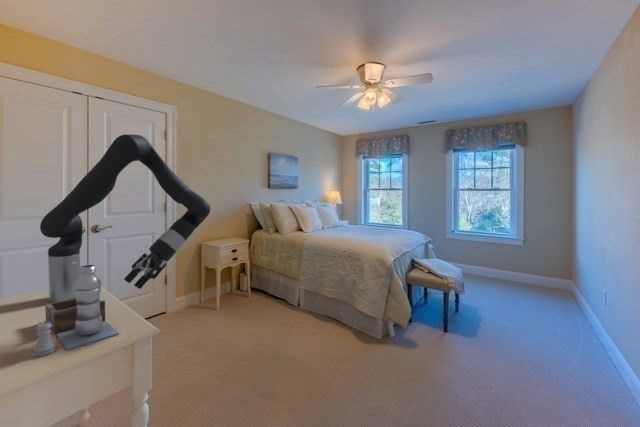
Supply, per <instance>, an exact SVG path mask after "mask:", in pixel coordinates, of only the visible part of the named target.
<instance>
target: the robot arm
mask: <svg viewBox="0 0 640 427" xmlns="http://www.w3.org/2000/svg"><path fill="white" fill-rule="evenodd" d="M137 161H138V162H140V163H141V164H142V165H144V166H145V167H147V169H148V170H150V172H151V173H152V174H153V176H154V177H155V179H156V181H157V183H158V185H159V187H161V189H162V190H163V191H164V192H165V193H166V194H167V195H168V196H169V197H170V198H171V199H172V200H173V201H174V202H175V203H177V204H179V205H180V204H181V205H183V206H184V208H186V209H187V210H186V212H185V213H184V214H183V215H182V216H181V217H180V218H178V219H177V220H175V221H174V223H172V225H171V226H170V227H169V228H168V229H167V230H165V231H164V232H163V233H162V234H161V235H160V236H159V237H158V238H157V239H156V240H155V242H154V243H152V244H151V245H150V246H149V248H148V249H149V251H150V253H149V254H147V253H145V252H144V253H143V254H141V255H140V257H139V258H138V259H137V260H136V261H135V262H134V263H133V264H132V265H131V271H130V272H129V273H128V274H127V275H126V276H125V277H124V278H123V280H124V281H126V282H127V283H128V284H131V283H132V282H133V280H134V279H135V278H136V277H137V276H139V274H140V273H141V272H144V273H143V275H141V277H140V278H139V279H138V280H136V282H135V283H134V287H136V288H137V289H139V290H140V289H142V288H143V287H144V286H145V284H146V283H147V282H148V281H149V280H152V279H153V280H155V279H156V278H157V277H158V276H159V275H160V273H161V272H162V271H163V270H164V268H166V266H167V265H168V264H167V262H169V261H170V260H171V258H172V257H173V256H174V255H175V254H176V253H177V252H178V250H180V249H181V248H182V246H183V245H184V243H186V242H187V240H188V238H190V236H191V235H192V234H193V233H194V231H195V230H196V229H197V228H199V226H200V225H201V224H202V223H203V222H204V221H205V220H206V219H207V217H208V216H209V215H210V213H211V206H210V204H209V203H208V201H207V200H206V199H205V198H204V197H202V196H201V195H200V194H198V193H196V192H195V191H194V190H192V189H191V188H190V187H189V186H188V185H187V184H186V183H185V182H184V181H183V180H182V179H181V178H180V177H179V176H178V175H177V174H176V173H175V172H174V171H173V170H172V169H171V168H170V167H169V166H168V164H167V163H166V162H165V161H164V160H163V158H162V157H161V156H160V154H159V153H158V152H157V150H156V148H154V146H153V145H152V144H151V143H150V142H149V140H148V139H147V138H146V137H144V136H143V135H140V134H128V133H127V134H121V135H119V136H117V137H116V138H115V139H114V140H113V141H112V143H111V144H110V145H109V147H108V149H107V150H106V151H105V153H104V155H102V157H101V158H100V160H99V161H98V162H97V163H96V164H95V165H94V166H93V167H92V168H91V169H90V171H88V172H87V174H85V175H84V176H83V177H82V179H80V181H78V183H77V185H76V186H75V187H74V188H73V189H72V190H71V191H70V192H69V193H68V194H67V195H66V196H65V197H64V199H63V200H61V202H60V203H58V204H57V205H56V206H55V207H54V208H53V209H51V210H50V211H49V212H48V213H46V214H45V216H44V217H43V218H42V219H41V222H40V224H39V229H40V232H41V234H42V235H43V236H45V237H47V238H51V239H55V238H57V239H58V238H59V240H58V241H57V242H56V243H55V244H53V245H52V246H50V247H49V248H48V249H47V259H48V260H47V261H48V262H47V263H48V288H49V289H48V293H49V297H48V298H49V300H48V301H49V302H50V303H54V302H59V301H64V300H69V299H74V298H76V296H75V292H74V283H75V281H76V280H77V279H78V277H79V276H80V274H79V271H80V267H81V251H80V249H81V247H82V244H83V220H82V217H81V216H80V214H81V213H83V212H85V211H88V210H89V209H91V208H93V207H95V206H97V205H98V204H101V202H102V201H103V200H105V198H106V197H108V196H109V194H110V193H111V192H112V191H113V190H114V188H115V185H116V184H117V183H116V182H117V179H118V177H119V174H120V173H121V172H122V171H123V170H124V169H125V168H127V166H129V165H130V164H131V163H133V162H137Z"/></svg>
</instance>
